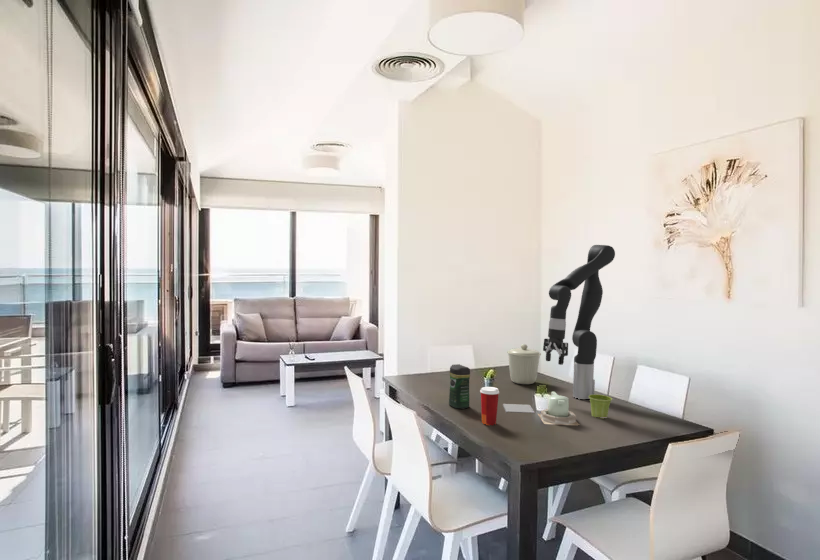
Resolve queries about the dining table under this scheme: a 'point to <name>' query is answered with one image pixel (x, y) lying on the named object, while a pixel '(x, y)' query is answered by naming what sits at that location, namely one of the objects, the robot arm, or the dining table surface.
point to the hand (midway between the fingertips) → (554, 362)
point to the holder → (558, 418)
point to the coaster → (518, 408)
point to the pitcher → (558, 405)
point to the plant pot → (599, 405)
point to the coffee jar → (459, 386)
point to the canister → (523, 364)
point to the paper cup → (489, 405)
